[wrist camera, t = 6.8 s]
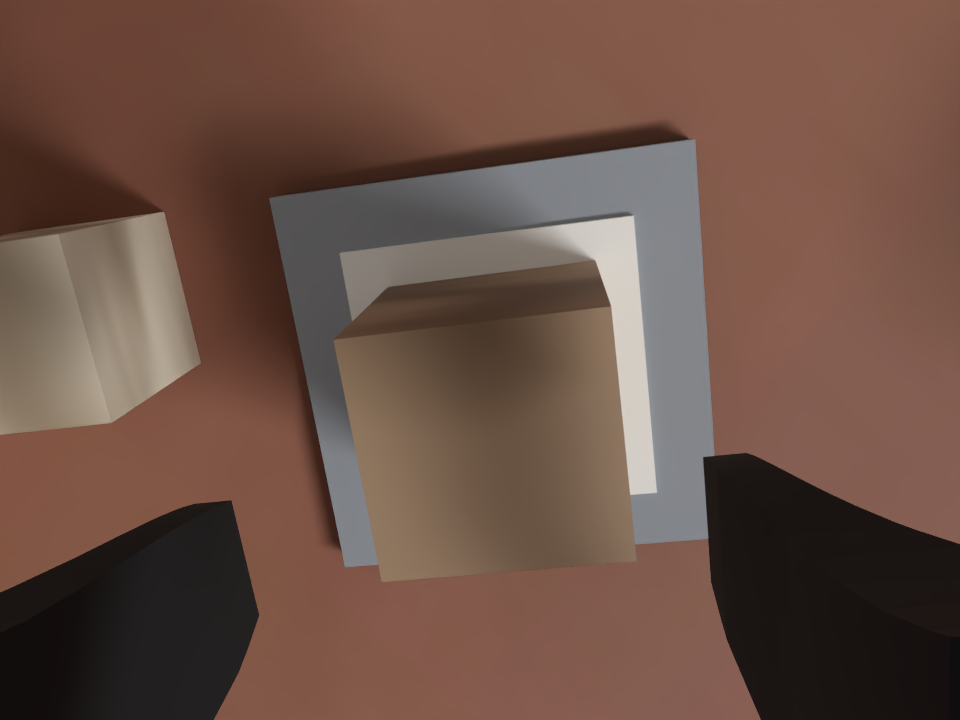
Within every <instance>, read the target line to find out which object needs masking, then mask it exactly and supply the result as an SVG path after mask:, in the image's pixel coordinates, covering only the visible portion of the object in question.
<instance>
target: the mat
mask: <svg viewBox="0 0 960 720" xmlns="http://www.w3.org/2000/svg"><path fill="white" fill-rule="evenodd" d="M269 200H270V205H271V210H272V215H273V220H274V225H275V230H276V234H277V239H278V244H279V249H280V254H281V259H282V263H283V268H284V273H285V278H286V283H287V288H288V293H289V297H290V302H291V307H292V312H293V317H294V322H295V326H296V331H297V336H298V341H299V346H300V351H301V356H302V360H303V365H304V370H305V375H306V380H307V385H308V390H309V394H310V399H311V404H312V409H313V414H314V419H315V423H316V428H317V433H318V438H319V443H320V448H321V453H322V457H323V462H324V467H325V472H326V477H327V482H328V486H329V491H330V496H331V501H332V506H333V511H334V516H335V520H336V525H337V530H338V535H339V540H340V545H341V549H342V554H343V559H344V564H345V567H354V566H367V565H378V560H377V555H376V550H375V545H374V540H373V535H372V530H371V525H370V520H369V515H368V510H367V505H366V500H365V495H364V490H363V485H362V480H361V475H360V470H359V465H358V460H357V455H356V450H355V445H354V440H353V435H352V430H351V425H350V420H349V415H348V410H347V405H346V400H345V395H344V390H343V385H342V380H341V375H340V370H339V365H338V360H337V355H336V350H335V345H334V339H335V338H336V337H337V336H338V335H339V334H340V333H341V332H342V331H343V330H344V329H345V328H346V327H347V326H348V325H349V324H350V323H351V322H352V321H353V320H354V319H355V318H356V317H357V316H359V315H360V314H361V313H362V312H363V311H364V310H365V309H366V308H367V307H368V306H369V305H370V304H371V303H372V302H373V301H374V300H375V299H376V298H377V297H378V296H379V295H380V294H381V293H382V292H383V291H384V290H385V289H386V288H387V287H391V286H399V285H407V284H415V283H423V282H431V281H438V280H446V279H454V278H462V277H470V276H477V275H485V274H493V273H501V272H509V271H516V270H524V269H532V268H540V267H548V266H556V265H563V264H571V263H579V262H587V261H596V264H597V267H598V269H599V272H600V275H601V278H602V281H603V284H604V287H605V290H606V293H607V296H608V298H609V301H610V304H611V309H612V319H613V329H614V339H615V349H616V359H617V369H618V379H619V389H620V399H621V409H622V419H623V429H624V439H625V449H626V459H627V469H628V478H629V488H630V498H631V508H632V518H633V528H634V538H635V544H648V543H661V542H673V541H686V540H699V539H708V526H707V511H706V496H705V481H704V466H703V457H709V456H714V440H713V424H712V407H711V391H710V375H709V358H708V342H707V326H706V309H705V293H704V277H703V260H702V244H701V228H700V211H699V195H698V178H697V162H696V146H695V139H687V140H680V141H672V142H665V143H658V144H651V145H643V146H636V147H629V148H622V149H615V150H607V151H600V152H593V153H586V154H578V155H571V156H564V157H557V158H550V159H542V160H535V161H528V162H521V163H513V164H506V165H499V166H492V167H485V168H477V169H470V170H463V171H456V172H448V173H441V174H434V175H427V176H420V177H412V178H405V179H398V180H391V181H383V182H376V183H369V184H362V185H354V186H347V187H340V188H333V189H326V190H318V191H311V192H304V193H297V194H289V195H282V196H276V197H272V198H269Z"/></svg>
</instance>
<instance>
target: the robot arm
mask: <svg viewBox="0 0 960 720" xmlns="http://www.w3.org/2000/svg"><path fill="white" fill-rule="evenodd" d="M703 466H704V481H705V496H706V511H707V526H708V541H709V556H710V571H711V583H712V587H713V591H714V594H715V598H716V602H717V606H718V609H719V613H720V617H721V620H722V624H723V627H724V631H725V634H726V638H727V641H728V643H729V646H730V648H731V650H732V653H733V655H734V658H735V660H736V662H737V665H738V667H739V669H740V672H741V674H742V676H743V679H744V681H745V684H746V686H747V688H748V691H749V693H750V695H751V697H752V700H753V702H754V704H755V707H756V709H757V711H758V714H759V716H760V718H761V720H960V544H957V543H954V542H951V541H948V540H945V539H942V538H939V537H936V536H933V535H930V534H927V533H924V532H920V531H917V530H914V529H912V528H909V527H906V526H904V525H901V524H898V523H896V522H893V521H891V520H888V519H886V518H883V517H881V516H879V515H876V514H874V513H871V512H869V511H867V510H864V509H862V508H860V507H857V506H855V505H853V504H851V503H848V502H846V501H844V500H842V499H840V498H838V497H835V496H833V495H831V494H829V493H827V492H825V491H823V490H821V489H819V488H817V487H815V486H813V485H811V484H809V483H807V482H805V481H803V480H801V479H799V478H797V477H795V476H793V475H792V474H790V473H788V472H786V471H784V470H782V469H780V468H778V467H776V466H774V465H772V464H770V463H768V462H766V461H764V460H762V459H760V458H758V457H756V456H753V455H751V454H748V453H742V454H731V455H720V456H709V457H703ZM258 617H259V613H258V609H257V605H256V601H255V597H254V592H253V588H252V584H251V580H250V576H249V572H248V568H247V563H246V559H245V555H244V551H243V547H242V543H241V539H240V534H239V530H238V526H237V522H236V518H235V514H234V510H233V506H232V501H221V502H210V503H199V504H193V505H189V506H186V507H182V508H180V509H177V510H174V511H172V512H169V513H167V514H165V515H162V516H160V517H158V518H156V519H153V520H151V521H149V522H147V523H145V524H143V525H141V526H139V527H137V528H135V529H132V530H130V531H128V532H126V533H124V534H122V535H120V536H118V537H116V538H114V539H112V540H110V541H108V542H106V543H104V544H102V545H100V546H98V547H96V548H94V549H92V550H90V551H88V552H86V553H84V554H82V555H80V556H78V557H76V558H74V559H72V560H70V561H68V562H65V563H63V564H61V565H59V566H57V567H55V568H53V569H50V570H48V571H46V572H44V573H42V574H40V575H38V576H35V577H33V578H31V579H29V580H27V581H25V582H23V583H21V584H18V585H16V586H14V587H12V588H10V589H8V590H5V591H3V592H1V593H0V720H214V718H215V716H216V714H217V712H218V711H219V709H220V707H221V705H222V703H223V701H224V699H225V697H226V695H227V694H228V692H229V690H230V688H231V686H232V684H233V682H234V680H235V678H236V676H237V674H238V672H239V670H240V667H241V665H242V662H243V660H244V657H245V654H246V652H247V649H248V647H249V644H250V641H251V638H252V635H253V632H254V629H255V626H256V623H257V620H258Z"/></svg>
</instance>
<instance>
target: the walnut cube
mask: <svg viewBox="0 0 960 720" xmlns="http://www.w3.org/2000/svg"><path fill="white" fill-rule="evenodd" d="M334 345H335V350H336V355H337V360H338V365H339V370H340V375H341V380H342V385H343V390H344V395H345V400H346V405H347V410H348V415H349V420H350V425H351V430H352V435H353V440H354V445H355V450H356V455H357V460H358V465H359V470H360V475H361V480H362V485H363V490H364V495H365V500H366V505H367V510H368V515H369V520H370V525H371V530H372V535H373V540H374V545H375V550H376V555H377V560H378V565H379V570H380V575H381V580H382V582H389V581H401V580H414V579H426V578H438V577H451V576H463V575H475V574H488V573H500V572H512V571H525V570H537V569H549V568H562V567H574V566H586V565H599V564H611V563H623V562H636V561H637V558H636V548H635V538H634V528H633V518H632V508H631V498H630V488H629V478H628V469H627V459H626V449H625V439H624V429H623V419H622V409H621V399H620V389H619V379H618V369H617V359H616V349H615V339H614V329H613V319H612V309H611V304H610V301H609V298H608V296H607V293H606V290H605V287H604V284H603V281H602V278H601V275H600V272H599V269H598V267H597V264H596V261H587V262H579V263H571V264H563V265H556V266H548V267H540V268H532V269H524V270H516V271H509V272H501V273H493V274H485V275H477V276H470V277H462V278H454V279H446V280H438V281H431V282H423V283H415V284H407V285H399V286H391V287H387V288H386V289H385V290H384V291H383V292H382V293H381V294H380V295H379V296H378V297H377V298H376V299H375V300H374V301H373V302H372V303H371V304H370V305H369V306H368V307H367V308H366V309H365V310H364V311H363V312H362V313H361V314H360V315H359V316H357V317H356V318H355V319H354V320H353V321H352V322H351V323H350V324H349V325H348V326H347V327H346V328H345V329H344V330H343V331H342V332H341V333H340V334H339V335H338V336H337V337H336V338H335V339H334Z"/></svg>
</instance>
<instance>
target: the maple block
mask: <svg viewBox="0 0 960 720" xmlns="http://www.w3.org/2000/svg"><path fill="white" fill-rule="evenodd" d="M200 363H201V361H200V357H199V353H198V349H197V345H196V341H195V337H194V333H193V328H192V324H191V320H190V316H189V312H188V308H187V304H186V300H185V296H184V291H183V287H182V283H181V279H180V275H179V271H178V267H177V263H176V259H175V255H174V250H173V246H172V242H171V238H170V234H169V230H168V226H167V222H166V218H165V214H164V212H158V213H151V214H144V215H137V216H130V217H123V218H115V219H108V220H101V221H94V222H87V223H80V224H72V225H65V226H58V227H51V228H44V229H36V230H29V231H22V232H16V233H11V234H6V235H0V435H2V434H11V433H20V432H30V431H39V430H49V429H58V428H68V427H77V426H87V425H96V424H106V423H112V422H114V421H115V420H117V419H118V418H120V417H121V416H123V415H124V414H126V413H127V412H128V411H130V410H131V409H133V408H134V407H136V406H137V405H139V404H140V403H142V402H143V401H145V400H146V399H148V398H149V397H151V396H152V395H154V394H155V393H157V392H158V391H160V390H161V389H163V388H164V387H166V386H167V385H169V384H170V383H172V382H173V381H175V380H176V379H178V378H179V377H181V376H182V375H184V374H185V373H187V372H188V371H190V370H191V369H193V368H194V367H196V366H197V365H199V364H200Z"/></svg>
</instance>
